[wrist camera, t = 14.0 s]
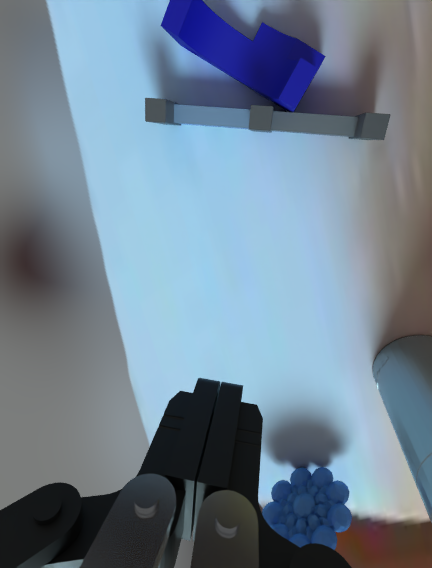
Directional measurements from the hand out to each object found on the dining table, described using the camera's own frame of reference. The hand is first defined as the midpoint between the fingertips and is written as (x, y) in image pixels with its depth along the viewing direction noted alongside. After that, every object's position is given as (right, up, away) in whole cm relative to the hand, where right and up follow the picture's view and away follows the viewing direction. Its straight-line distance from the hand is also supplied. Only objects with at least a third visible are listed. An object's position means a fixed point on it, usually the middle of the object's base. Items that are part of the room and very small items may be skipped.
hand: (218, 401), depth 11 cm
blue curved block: (+3, +25, +19) cm, 31 cm away
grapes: (+13, -24, +38) cm, 46 cm away
